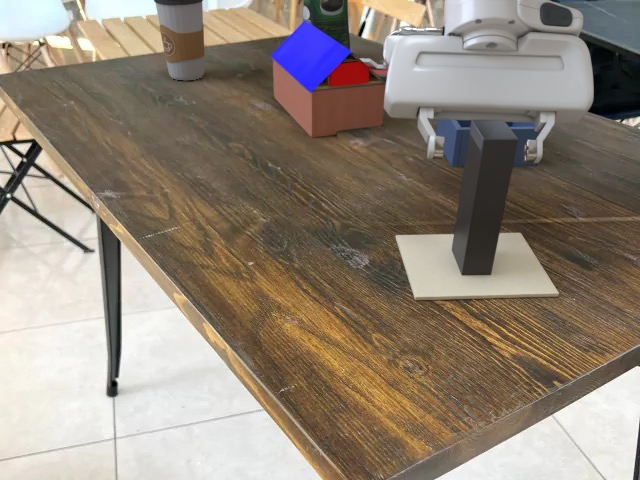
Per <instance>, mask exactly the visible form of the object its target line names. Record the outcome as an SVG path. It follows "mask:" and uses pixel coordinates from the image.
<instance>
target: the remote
mask: <svg viewBox="0 0 640 480" xmlns="http://www.w3.org/2000/svg"><path fill="white" fill-rule="evenodd" d="M517 143H518V138H517V137H516V135H515V134H514V133H513V132H512V130H511V129H510V128H509V126H508V125H507V124H506V122H505V121H503V120H471V126H470V133H469V139H468V146H467V152H466V159H465V166H464V167H463V172H462V173H463V174H462V179H461V185H460V191H459V198H458V205H457V211H456V219H455V226H454V231H453V234H454V237H453V244H452V252H453V255H454V257H455V260H456V262H457V265H458V267H459V270H460V272H461V275H491V273H492V268H493V263H494V258H495V253H496V248H497V243H498V238H499V233H501V228H502V222H503V218H504V212H505V207H506V203H507V198H508V193H509V188H510V182H511V177H512V172H513V167H514V166H513V163H514V158H515V153H516V148H517Z"/></svg>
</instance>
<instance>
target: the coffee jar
mask: <svg viewBox="0 0 640 480" xmlns="http://www.w3.org/2000/svg"><path fill="white" fill-rule="evenodd" d="M302 7H303V8H302V9H303V10H302V23H303V22H304V21H307V22H308V23H310V24H311V25H313V26H314V27H316V28H317V29H319V30H320V31H322V32H323V33H325V34H326V35H327V36H329V37H330V38H332V39H333V40H335V41H336V42H338V43H339V44H341V45H342V46H344V47H345V48H347V49H348V50H350V51H351V37H350V25H349V24H350V23H349V8H348V7H349V0H303V6H302Z"/></svg>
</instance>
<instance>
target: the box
mask: <svg viewBox="0 0 640 480" xmlns="http://www.w3.org/2000/svg"><path fill="white" fill-rule="evenodd" d="M436 120H437V121H436V130H435V134H436V136H443V137H445V143H444V156H445V158H446V159H447V161H448V163H449V165H450V167H451V168H461V167H463V168H464V166H465V159H466V152H467V146H468V139H469V133H470V126H471V121H470V120H443V119H436ZM506 124H507V125H508V126H509V128H510V129H511V130H512V132H513V133H514V134H515V135H516V137H517V138H518V143H517V148H516V153H515V158H514V163H513V167H529V166H530V167H531V166H532V167H533V166H535V167H536V166H538V164H539V163H527V162H523V156H524V154H523V146H524V145H525V144H526V142H527V140H536V138H537V137H538V135H539V134H540V132H535V123H525V122H506Z"/></svg>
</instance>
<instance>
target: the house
mask: <svg viewBox="0 0 640 480" xmlns="http://www.w3.org/2000/svg"><path fill="white" fill-rule="evenodd" d="M270 57H271V60H272V77H273V98H274V99H275V100H276V101H277V102H278V103H279V104H280V106H281V107H282V108H283V109H284V110H285V111H286V112H287V113H288V114H289V115H290V116H291V117H292V118H293V120H294V121H296V123H297V124H298V125H299V126H300V127H301V128H302V129H303V130H304V131H305V132H306V134H308V136H310V138H320V137H329V136H337V135H338V132H339V131H349V130H357V129H364V128H373V127H382V126H383V125H384V124H383V123H384V111H385V109H384V96H385V85H386V82H385V81H384V80H383V79H381V78H380V77H379V76H378V75H377V74H376V73H375V72H374V71H373V70H371V69H370V68H369V67H368V66H367V65H368V64H367V63H364V62H363V61H361V60H360V59H359V57H358V56H357V55H356V54H355V53H354V52H353V51H351V49H350V50H348V49H347V48H345V47H344V46H342V45H341V44H339V43H338V42H336V41H335V40H333V39H332V38H330V37H329V36H327V35H326V34H325V33H323V32H322V31H320V30H319V29H317V28H316V27H314V26H313V25H311V24H310V23H308V22H307V21H304V22H303V21H302V23H300V24H299V26H298V27H297V28H296V29H295V30H294V31H293V32H292V33H291V34H290V35H289V36H288V37H287V38H286V39H285V40H284V41H283V42H282V43H281V44H280V45H279V46H278V48H276V49H275V51H273V52H272V54H271V55H270Z"/></svg>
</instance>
